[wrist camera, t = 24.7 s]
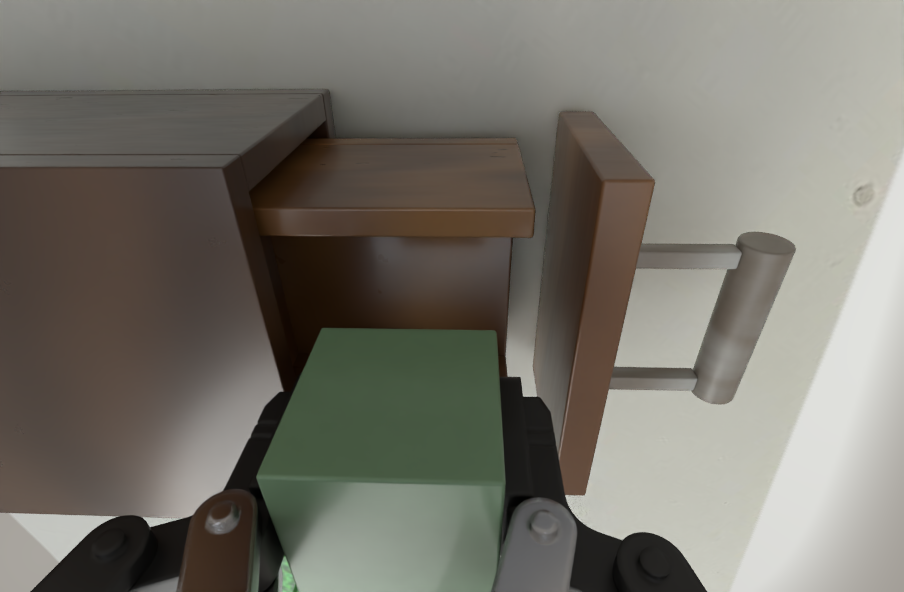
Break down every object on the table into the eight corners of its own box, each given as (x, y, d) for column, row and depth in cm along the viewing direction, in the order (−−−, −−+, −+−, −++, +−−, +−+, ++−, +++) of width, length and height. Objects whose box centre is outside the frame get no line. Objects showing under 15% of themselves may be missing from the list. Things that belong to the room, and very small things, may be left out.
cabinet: (329, 88, 17) (221, 167, 10) (367, 359, 24) (321, 523, 17) (-37, 90, 18) (-390, 166, 11) (103, 355, 25) (-52, 511, 18)
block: (321, 326, 12) (253, 477, 9) (497, 329, 12) (506, 484, 8) (344, 443, 15) (300, 601, 11) (491, 447, 15) (496, 608, 11)
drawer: (753, 110, 16) (904, 180, 11) (672, 368, 23) (739, 500, 17) (234, 112, 17) (111, 179, 11) (296, 362, 23) (237, 486, 18)
